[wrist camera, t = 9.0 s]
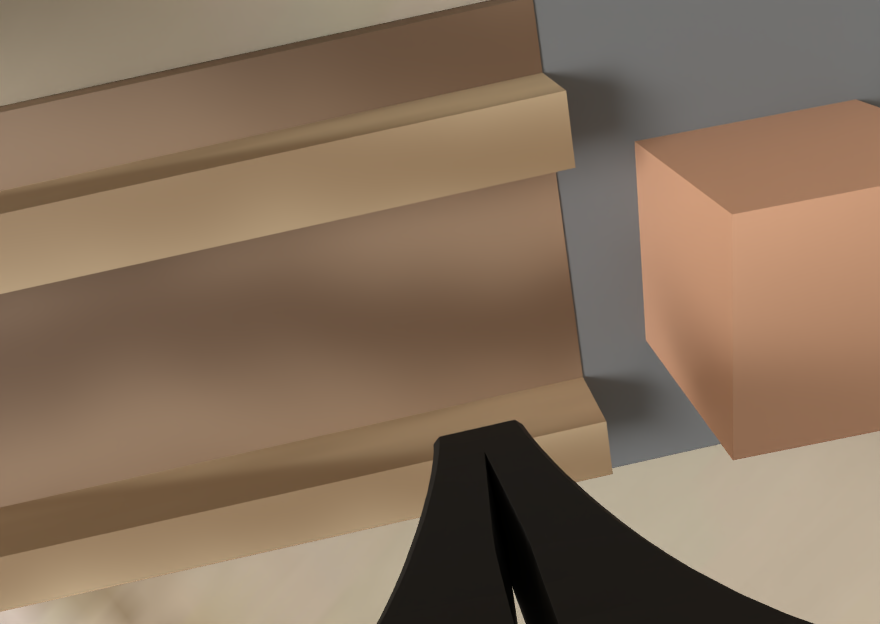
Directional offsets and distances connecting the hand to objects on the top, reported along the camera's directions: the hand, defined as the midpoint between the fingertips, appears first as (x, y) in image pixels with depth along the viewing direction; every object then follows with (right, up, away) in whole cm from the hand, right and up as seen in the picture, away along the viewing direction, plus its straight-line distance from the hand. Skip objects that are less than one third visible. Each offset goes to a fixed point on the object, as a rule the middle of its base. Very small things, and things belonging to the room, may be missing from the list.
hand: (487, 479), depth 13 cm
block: (+6, +5, +6) cm, 10 cm away
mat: (+6, +5, +7) cm, 11 cm away
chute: (-6, +2, +7) cm, 9 cm away
